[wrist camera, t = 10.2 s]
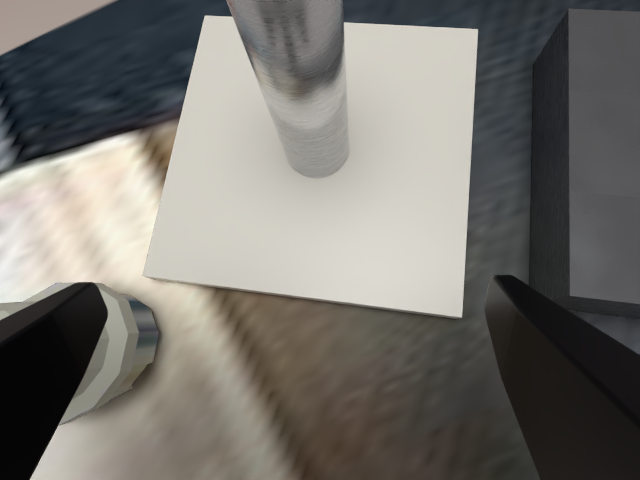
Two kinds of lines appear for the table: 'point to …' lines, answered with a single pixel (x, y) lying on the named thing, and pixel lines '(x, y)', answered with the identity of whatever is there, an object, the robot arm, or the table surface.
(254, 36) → the black knobbed metal rod
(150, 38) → the table surface
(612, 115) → the grey square frame block
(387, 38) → the pad
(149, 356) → the grey rounded bar
